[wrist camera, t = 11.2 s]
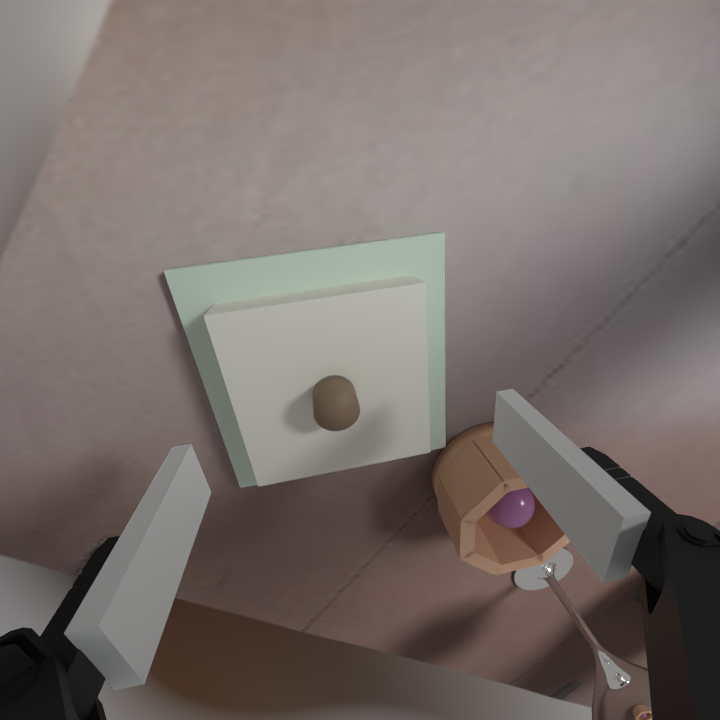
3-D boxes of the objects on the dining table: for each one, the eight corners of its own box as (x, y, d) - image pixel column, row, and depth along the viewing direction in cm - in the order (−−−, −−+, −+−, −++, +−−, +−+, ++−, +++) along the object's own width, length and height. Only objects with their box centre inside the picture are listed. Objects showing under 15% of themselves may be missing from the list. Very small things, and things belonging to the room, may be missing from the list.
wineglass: (584, 530, 33) (864, 847, 16) (576, 580, 36) (801, 884, 20) (505, 552, 32) (712, 903, 16) (505, 601, 36) (675, 931, 19)
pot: (429, 434, 25) (461, 489, 20) (542, 412, 26) (599, 460, 21) (432, 519, 29) (459, 584, 24) (530, 497, 29) (576, 555, 24)
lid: (215, 303, 18) (191, 327, 14) (411, 274, 19) (438, 290, 15) (262, 460, 23) (254, 510, 19) (418, 430, 24) (441, 472, 20)
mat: (167, 268, 18) (163, 270, 17) (440, 232, 19) (444, 232, 18) (241, 481, 24) (240, 488, 23) (442, 442, 25) (445, 447, 25)
